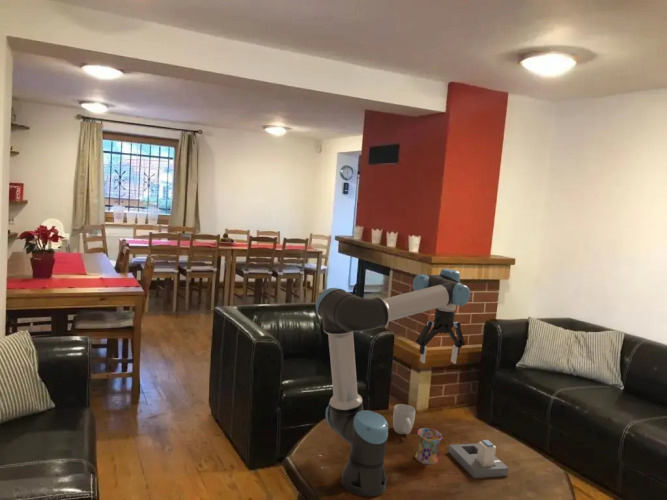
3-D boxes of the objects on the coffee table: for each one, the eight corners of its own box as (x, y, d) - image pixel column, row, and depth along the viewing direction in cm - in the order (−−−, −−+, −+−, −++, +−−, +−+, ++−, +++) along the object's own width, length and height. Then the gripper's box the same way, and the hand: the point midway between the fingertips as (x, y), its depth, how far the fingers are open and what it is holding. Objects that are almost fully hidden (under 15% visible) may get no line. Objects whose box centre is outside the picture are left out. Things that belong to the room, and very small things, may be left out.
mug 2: (441, 468, 190) (445, 441, 188) (416, 466, 189) (420, 439, 188) (433, 451, 202) (437, 425, 200) (410, 449, 201) (413, 423, 200)
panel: (473, 480, 184) (475, 469, 183) (448, 454, 201) (449, 444, 200) (507, 478, 188) (508, 467, 187) (479, 452, 205) (480, 442, 204)
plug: (481, 473, 187) (486, 445, 186) (475, 467, 191) (479, 439, 190) (492, 473, 189) (496, 445, 187) (485, 466, 193) (489, 439, 191)
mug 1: (388, 425, 220) (391, 403, 219) (409, 426, 221) (412, 404, 220) (396, 440, 207) (399, 417, 206) (418, 441, 209) (421, 417, 208)
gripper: (420, 310, 191) (413, 365, 194) (478, 312, 199) (470, 365, 202) (411, 305, 199) (404, 358, 201) (468, 308, 206) (460, 359, 209)
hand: (437, 362), depth 201 cm, fingers open, 13 cm apart
